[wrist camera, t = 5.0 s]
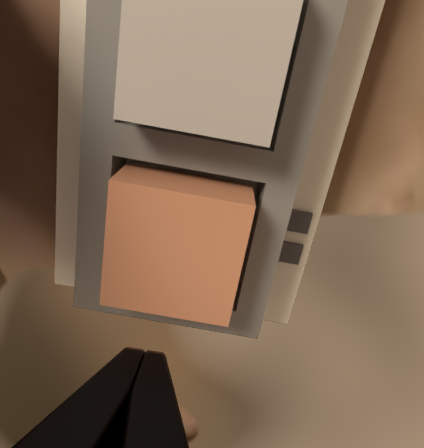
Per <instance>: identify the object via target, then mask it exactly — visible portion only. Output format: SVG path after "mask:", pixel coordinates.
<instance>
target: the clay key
mask: <svg viewBox="0 0 424 448" xmlns="http://www.w3.org/2000/svg"><path fill="white" fill-rule="evenodd" d="M255 209H256V203H255V198H254V192H253V187H252V185H246V184H240V183H235V182H229V181H224V180H218V179H213V178H207V177H202V176H196V175H191V174H185V173H180V172H174V171H169V170H163V169H158V168H152V167H147V166H141V165H136V164H130V163H127V164H126V165H125V166H124V167H123V168H121V169H120V170H119V171H118V172H117V173H116V174H115V175H114V176H112V177H111V178H110V179H109V182H108V196H107V210H106V223H105V237H104V250H103V264H102V278H101V291H100V305H103V306H109V307H115V308H121V309H127V310H132V311H138V312H144V313H150V314H155V315H161V316H167V317H173V318H178V319H184V320H190V321H196V322H202V323H207V324H213V325H219V326H225V327H228V326H229V322H230V317H231V313H232V309H233V304H234V300H235V296H236V291H237V287H238V283H239V278H240V274H241V270H242V265H243V261H244V257H245V252H246V248H247V244H248V239H249V235H250V231H251V226H252V222H253V217H254V213H255Z"/></svg>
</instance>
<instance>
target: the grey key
mask: <svg viewBox="0 0 424 448" xmlns="http://www.w3.org/2000/svg"><path fill="white" fill-rule="evenodd" d="M303 1H304V0H122V5H121V19H120V33H119V46H118V60H117V73H116V87H115V101H114V114H113V119H116V120H122V121H127V122H133V123H138V124H143V125H149V126H154V127H160V128H165V129H171V130H176V131H182V132H187V133H192V134H198V135H203V136H209V137H214V138H220V139H225V140H231V141H236V142H241V143H247V144H252V145H258V146H263V147H269V148H270V144H271V139H272V135H273V131H274V126H275V122H276V118H277V113H278V109H279V105H280V100H281V96H282V92H283V87H284V83H285V79H286V74H287V70H288V66H289V61H290V57H291V53H292V48H293V44H294V40H295V35H296V31H297V27H298V22H299V18H300V14H301V9H302V5H303Z"/></svg>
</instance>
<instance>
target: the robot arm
mask: <svg viewBox="0 0 424 448" xmlns="http://www.w3.org/2000/svg"><path fill="white" fill-rule="evenodd" d="M12 448H189V446H188V442H187V438H186V434H185V430H184V426H183V422H182V418H181V414H180V411H179V407H178V403H177V399H176V395H175V391H174V387H173V383H172V379H171V375H170V372H169V368H168V364H167V359H166V356H165V354H164V353H163V352H157V351H150V350H148V351H146V352H144V350H143V349H137V348H130V347H127V348H124V349H123V350H122V351H121V352H120V353H119V354H117V355H116V356H115V357H114V358H113V359H112V360H111V361H109V362H108V363H107V364H106V365H105V366H104V367H103V368H102V369H100V370H99V371H98V372H97V373H96V374H95V375H94V376H92V377H91V378H90V379H89V380H88V381H87V382H86V383H84V385H82V386H81V387H80V388H79V389H78V390H77V391H75V392H74V393H73V394H72V395H71V396H70V397H68V399H66V400H65V401H64V402H63V403H62V404H61V405H59V406H58V407H57V408H56V409H55V410H54V411H53V412H51V413H50V414H49V415H48V416H47V417H46V418H45V419H43V420H42V421H41V422H40V423H39V424H38V425H37V426H35V427H34V428H33V429H32V430H31V431H30V432H29V433H28V434H26V435H25V436H24V437H23V438H22V439H21V440H20V441H18V442H17V443H16V444H15V445H14V446H13V447H12Z"/></svg>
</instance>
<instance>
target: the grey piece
mask: <svg viewBox="0 0 424 448" xmlns="http://www.w3.org/2000/svg"><path fill="white" fill-rule="evenodd" d="M384 3H385V0H304V1H303V5H302V9H301V14H300V18H299V22H298V27H297V31H296V35H295V40H294V44H293V48H292V53H291V57H290V61H289V66H288V70H287V74H286V79H285V83H284V87H283V92H282V96H281V100H280V105H279V109H278V113H277V118H276V122H275V126H274V131H273V135H272V139H271V144H270V148H269V147H263V146H258V145H252V144H247V143H241V142H236V141H231V140H225V139H220V138H214V137H209V136H203V135H198V134H192V133H187V132H182V131H176V130H171V129H165V128H160V127H154V126H149V125H143V124H138V123H133V122H127V121H122V120H116V119H113V114H114V101H115V87H116V73H117V60H118V46H119V33H120V19H121V5H122V0H60V37H59V86H58V135H57V185H56V234H55V284H60V285H66V286H71V287H74V307H77V308H82V309H88V310H94V311H100V312H106V313H111V314H117V315H123V316H129V317H134V318H140V319H146V320H152V321H158V322H163V323H170V324H175V325H181V326H187V327H192V328H198V329H204V330H210V331H215V332H221V333H227V334H233V335H239V336H244V337H250V338H256V339H257V338H258V334H259V330H260V327H261V323H262V320H267V321H273V322H278V323H284V324H288V322H289V319H290V315H291V312H292V309H293V305H294V302H295V299H296V295H297V292H298V289H299V285H300V282H301V279H302V275H303V272H304V269H305V265H306V262H307V259H308V255H309V252H310V249H311V245H312V242H313V239H314V236H315V232H316V229H317V225H318V222H319V219H320V216H321V212H322V209H323V206H324V202H325V199H326V196H327V192H328V189H329V186H330V182H331V179H332V176H333V172H334V169H335V166H336V162H337V159H338V156H339V153H340V149H341V146H342V143H343V139H344V136H345V133H346V129H347V126H348V123H349V119H350V116H351V113H352V109H353V106H354V103H355V99H356V96H357V93H358V89H359V86H360V83H361V79H362V76H363V73H364V69H365V66H366V63H367V60H368V56H369V53H370V50H371V46H372V43H373V40H374V36H375V33H376V30H377V26H378V23H379V20H380V16H381V13H382V10H383V6H384ZM127 163H130V164H136V165H141V166H147V167H152V168H158V169H163V170H169V171H174V172H180V173H185V174H191V175H196V176H202V177H207V178H213V179H218V180H224V181H229V182H235V183H240V184H246V185H252V187H253V192H254V198H255V203H256V209H255V213H254V217H253V222H252V226H251V231H250V235H249V239H248V244H247V248H246V252H245V257H244V261H243V265H242V270H241V274H240V278H239V283H238V287H237V291H236V296H235V300H234V304H233V309H232V313H231V317H230V322H229V326H228V327H225V326H219V325H213V324H207V323H202V322H196V321H190V320H184V319H178V318H173V317H167V316H161V315H155V314H150V313H144V312H138V311H132V310H127V309H121V308H115V307H109V306H103V305H100V291H101V278H102V264H103V250H104V237H105V223H106V210H107V196H108V182H109V179H110V178H111V177H112V176H114V175H115V174H116V173H117V172H118V171H119V170H120V169H121V168H123V167H124V166H125V165H126V164H127Z"/></svg>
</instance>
